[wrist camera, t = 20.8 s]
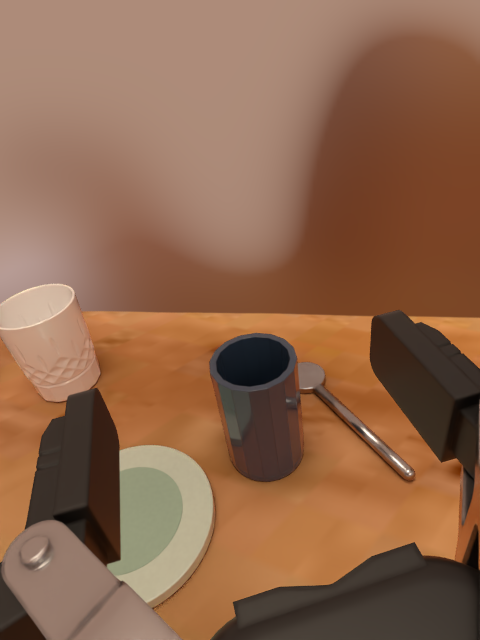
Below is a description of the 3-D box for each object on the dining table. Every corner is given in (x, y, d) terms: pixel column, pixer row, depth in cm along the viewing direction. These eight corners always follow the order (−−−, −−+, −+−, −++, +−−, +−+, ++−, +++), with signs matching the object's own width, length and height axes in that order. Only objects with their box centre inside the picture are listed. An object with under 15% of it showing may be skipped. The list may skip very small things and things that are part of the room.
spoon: (393, 494, 32) (394, 486, 31) (279, 377, 43) (278, 369, 43) (431, 469, 33) (432, 461, 32) (310, 361, 45) (309, 354, 44)
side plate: (57, 668, 26) (50, 662, 25) (33, 500, 36) (27, 493, 35) (246, 550, 30) (244, 542, 29) (178, 428, 40) (175, 421, 39)
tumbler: (252, 495, 33) (234, 405, 28) (218, 441, 38) (195, 354, 32) (318, 457, 35) (314, 365, 30) (278, 410, 40) (267, 323, 34)
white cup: (33, 371, 50) (-7, 298, 44) (102, 348, 52) (72, 275, 46) (33, 417, 44) (-14, 339, 38) (110, 390, 45) (77, 311, 40)
